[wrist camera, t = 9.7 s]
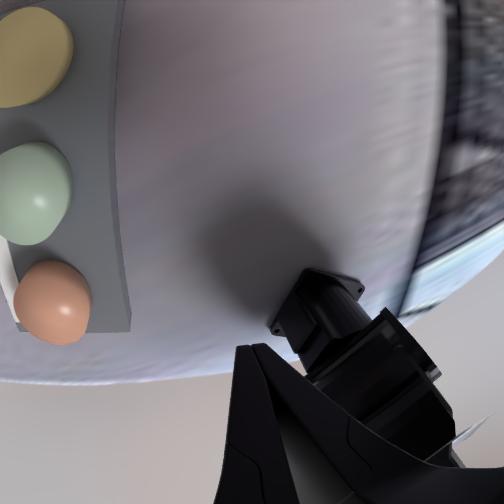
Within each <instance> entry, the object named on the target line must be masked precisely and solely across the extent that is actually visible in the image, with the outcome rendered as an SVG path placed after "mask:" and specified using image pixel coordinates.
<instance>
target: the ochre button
mask: <svg viewBox="0 0 504 504" xmlns="http://www.w3.org/2000/svg"><path fill="white" fill-rule="evenodd" d="M73 51H74V42H73V36H72V33H71V30H70V28H69V27H68V25H67V24H66V23H65V22H64V21H63V20H61V19H60V18H58V17H57V16H55V15H54V14H52V13H50V12H49V11H47V10H45V9H43V8H39V7H26V8H22V9H19V10H17V11H14V12H12V13H11V14H9V15H7V16H6V17H4V18H3V19H2V20H1V21H0V108H9V107H15V106H21V105H28V104H32V103H35V102H37V101H40V100H41V99H43V98H45V97H46V96H48V95H49V94H50V93H51V92H52V91H53V90H54V89H55V88H56V87H57V86H58V85H59V84H60V82H61V81H62V80H63V78H64V76H65V75H66V73H67V71H68V69H69V66H70V64H71V60H72V57H73Z"/></svg>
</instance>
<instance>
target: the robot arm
mask: <svg viewBox="0 0 504 504" xmlns="http://www.w3.org/2000/svg"><path fill="white" fill-rule="evenodd" d="M310 273H311V274H310ZM308 274H310V275H309V276H307V275H308ZM359 288H360V289H359ZM358 289H359V290H358ZM364 290H365V287H364V285H363V284H362V283H359V282H356V281H353V280H349V279H346V278H343V277H339V276H336V275H333V274H329V273H326V272H323V271H319V270H316V269H313V268H307V269H305V270H304V271H303V272H302V274H301V276H300V277H299V279H298V281H297V283H296V284H295V286H294V288H293V290H292V291H291V293H290V294H289V296H288V297H287V299H286V301H285V303H284V304H283V306H282V308H281V309H280V311H279V313H278V314H277V317H276V318H275V320H274V322H273V323H272V325H271V327H270V332H271V334H272V335H275V336H282V337H286V338H287V340H288V342H289V344H290V346H291V348H292V350H293V352H294V353H295V354H298V357H299V359H300V361H301V362H302V365H303V367H304V368H305V371H306V373H308V374H306V375H305V376H302V375H301V374H300V373H299V372H298V371H297V370H295V369H294V368H293V367H292V366H291V365H289V364H288V363H287V362H286V361H285V360H284V359H283V358H281V357H280V356H279V355H278V354H277V353H276V352H275V351H274V350H272V349H271V348H270V347H269V346H268V345H267V344H265V343H258V344H252V345H251V346H250V345H241V346H237V347H236V352H235V361H234V370H233V379H232V388H231V398H230V406H229V416H228V424H227V434H226V443H225V450H224V459H223V465H222V472H221V477H220V481H219V485H218V489H217V493H216V496H215V500H214V503H213V504H504V467H500V468H466V467H465V465H464V464H463V463H462V461H461V460H460V459H459V457H458V456H457V454H456V453H455V452H454V450H453V449H452V441H453V440H454V439H455V438H456V433H455V422H454V420H453V415H452V414H453V412H452V409H451V407H450V405H449V404H448V403H447V401H446V400H445V399H444V397H443V396H442V394H441V393H440V392H439V390H438V389H437V388H436V386H435V385H434V384H433V382H434V381H435V380H436V379H438V378H439V377H440V376H441V375H442V373H441V372H440V370H439V369H438V368H437V366H436V365H435V364H434V362H433V361H432V360H431V358H430V357H429V356H428V355H427V353H426V352H425V351H424V350H423V348H422V347H421V346H420V345H419V344H418V343H417V341H416V340H415V339H414V338H413V336H412V335H411V334H410V333H409V332H408V331H407V330H406V329H405V328H404V326H403V325H402V324H401V323H400V322H399V321H398V320H397V319H396V318H395V317H394V315H393V314H392V313H391V312H390V311H389V310H388V309H387V308H386V307H385V308H384V309H383V310H382V311H380V314H379V315H378V316H377V317H376V318H375V319H373V320H372V319H371V318H370V317H369V316H368V314H367V313H366V312H365V311H364V310H363V308H362V307H361V306H360V305H359V303H358V302H357V301H358V300H359V298H360V297H361V295H362V294H363V292H364ZM275 329H277V330H275Z"/></svg>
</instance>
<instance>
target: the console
mask: <svg viewBox="0 0 504 504" xmlns="http://www.w3.org/2000/svg"><path fill="white" fill-rule="evenodd" d="M124 2H125V0H45V1H41V2H37V3H34V4H30V5H27V6H24V7H20V8H17V9H14V10H11V11H8V12H5V13H3V14H0V21H1V20H2V19H3V18H4V17H6V16H7V15H9V14H11V13H12V12H14V11H17V10H19V9H22V8H26V7H39V8H43V9H45V10H47V11H49V12H50V13H52V14H54V15H55V16H57V17H58V18H60V19H61V20H63V21H64V22H65V23H66V24H67V25H68V27H69V28H70V30H71V33H72V36H73V42H74V51H73V57H72V60H71V64H70V66H69V69H68V71H67V73H66V75H65V76H64V78H63V80H62V81H61V82H60V84H59V85H58V86H57V87H56V88H55V89H54V90H53V91H52V92H51V93H50V94H49V95H48V96H46V97H45V98H43V99H41V100H40V101H37V102H35V103H32V104H28V105H21V106H15V107H9V108H0V155H1V154H2V153H4V152H6V151H8V150H10V149H12V148H15V147H17V146H19V145H21V144H24V143H27V142H32V141H38V142H43V143H47V144H49V145H51V146H53V147H54V148H56V149H57V150H58V151H59V152H60V153H61V154H62V155H63V156H64V158H65V159H66V161H67V163H68V164H69V167H70V169H71V172H72V176H73V182H74V193H73V199H72V202H71V205H70V208H69V210H68V211H67V213H66V215H65V216H64V217H63V219H62V220H61V221H60V223H59V224H58V226H57V227H56V228H55V230H54V231H53V232H52V234H51V235H50V236H49V237H48V238H46V239H45V240H43V241H42V242H39V243H37V244H34V245H19V244H15V243H13V242H10V241H8V240H7V239H5V238H4V237H2V236H1V235H0V283H1V286H2V289H3V292H4V295H5V297H6V300H7V303H8V305H9V308H10V310H11V313H12V315H13V318H14V320H15V322H16V325H17V327H18V329H19V331H20V332H28V331H27V330H26V329H25V328H24V326H23V325H22V324H21V323H20V321H19V319H18V318H17V316H16V313H15V310H14V306H13V298H14V293H15V291H16V289H17V287H18V286H19V284H20V282H21V281H22V279H23V277H24V275H25V274H26V272H27V271H28V269H29V268H30V267H31V266H32V265H34V264H35V263H37V262H40V261H44V260H54V261H59V262H62V263H65V264H67V265H69V266H71V267H72V268H74V269H75V270H76V271H77V272H79V273H80V274H81V275H82V276H83V278H84V279H85V280H86V282H87V283H88V285H89V287H90V290H91V293H92V307H91V311H90V316H89V320H88V324H87V328H86V331H85V333H109V332H130V326H131V314H132V313H131V308H130V302H129V296H128V290H127V284H126V277H125V270H124V263H123V255H122V246H121V237H120V228H119V217H118V204H117V189H116V169H115V95H116V76H117V62H118V50H119V40H120V31H121V23H122V16H123V9H124Z"/></svg>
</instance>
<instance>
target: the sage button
mask: <svg viewBox="0 0 504 504" xmlns="http://www.w3.org/2000/svg"><path fill="white" fill-rule="evenodd" d="M73 193H74V182H73V176H72V172H71V169H70V167H69V164H68V163H67V161H66V159H65V158H64V156H63V155H62V154H61V153H60V152H59V151H58V150H57V149H56V148H54V147H53V146H51V145H49V144H47V143H43V142H38V141H32V142H27V143H24V144H21V145H19V146H17V147H15V148H12V149H10V150H8V151H6V152H4V153H2V154H1V155H0V235H1V236H2V237H4V238H5V239H7V240H8V241H10V242H13V243H15V244H19V245H34V244H37V243H39V242H42V241H43V240H45V239H46V238H48V237H49V236H50V235H51V234H52V232H53V231H54V230H55V228H56V227H57V226H58V224H59V223H60V221H61V220H62V219H63V217H64V216H65V215H66V213H67V211H68V210H69V208H70V205H71V202H72V199H73Z"/></svg>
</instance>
